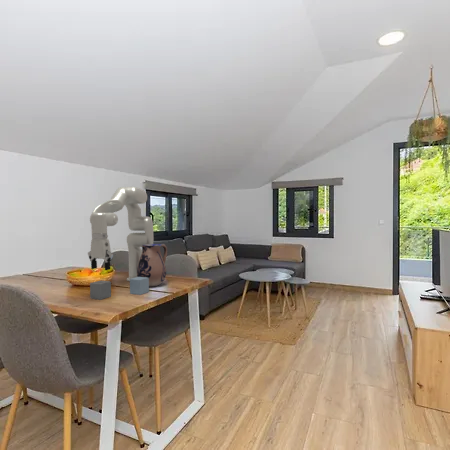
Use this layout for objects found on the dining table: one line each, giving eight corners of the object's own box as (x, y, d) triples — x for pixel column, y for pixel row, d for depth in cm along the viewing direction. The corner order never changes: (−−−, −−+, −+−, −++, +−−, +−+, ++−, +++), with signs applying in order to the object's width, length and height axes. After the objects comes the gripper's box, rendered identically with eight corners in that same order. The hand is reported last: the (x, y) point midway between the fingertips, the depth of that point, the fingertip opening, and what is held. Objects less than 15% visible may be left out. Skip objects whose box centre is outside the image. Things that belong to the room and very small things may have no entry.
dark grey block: (101, 295, 167) (101, 280, 166) (111, 296, 163) (110, 281, 163) (90, 298, 160) (89, 283, 160) (100, 299, 157) (100, 284, 157)
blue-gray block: (138, 290, 176) (138, 276, 175) (148, 291, 173) (148, 277, 172) (130, 293, 169) (129, 279, 169) (140, 294, 166) (139, 280, 166)
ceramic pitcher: (130, 286, 186) (130, 245, 186) (154, 280, 205) (153, 242, 204) (153, 289, 178) (152, 246, 177) (175, 282, 197) (174, 243, 196)
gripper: (117, 236, 161) (118, 269, 161) (93, 235, 168) (94, 266, 169) (106, 237, 154) (107, 271, 155) (81, 237, 161) (83, 269, 162)
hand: (100, 269), depth 162 cm, fingers open, 9 cm apart
